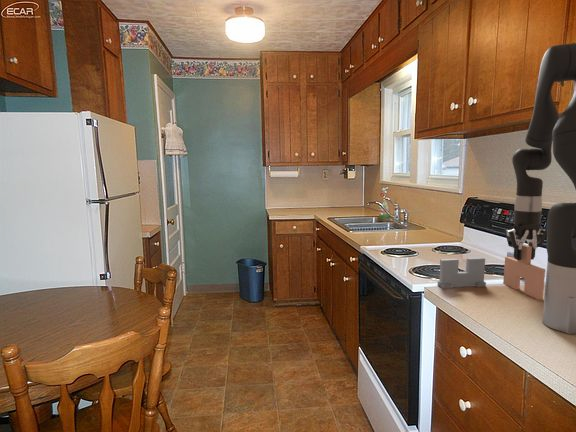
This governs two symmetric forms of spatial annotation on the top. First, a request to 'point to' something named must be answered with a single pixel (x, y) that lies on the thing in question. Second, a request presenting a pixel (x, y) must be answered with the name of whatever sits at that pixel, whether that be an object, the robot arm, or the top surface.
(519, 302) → the top surface
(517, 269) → the terracotta plate
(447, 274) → the grey notched panel
